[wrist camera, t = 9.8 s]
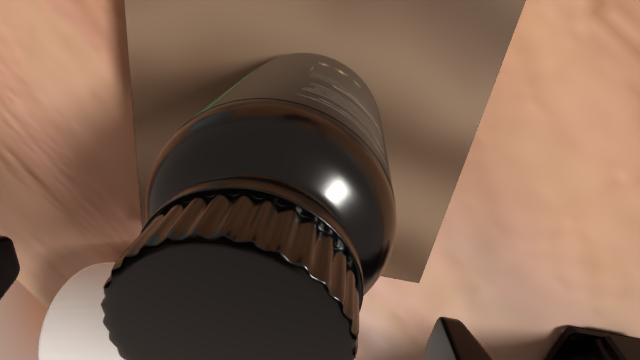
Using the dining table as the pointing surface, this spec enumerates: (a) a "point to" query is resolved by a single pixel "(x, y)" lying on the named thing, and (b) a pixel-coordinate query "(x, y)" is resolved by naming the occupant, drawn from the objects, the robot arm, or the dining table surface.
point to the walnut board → (353, 51)
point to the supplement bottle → (261, 224)
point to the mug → (78, 319)
